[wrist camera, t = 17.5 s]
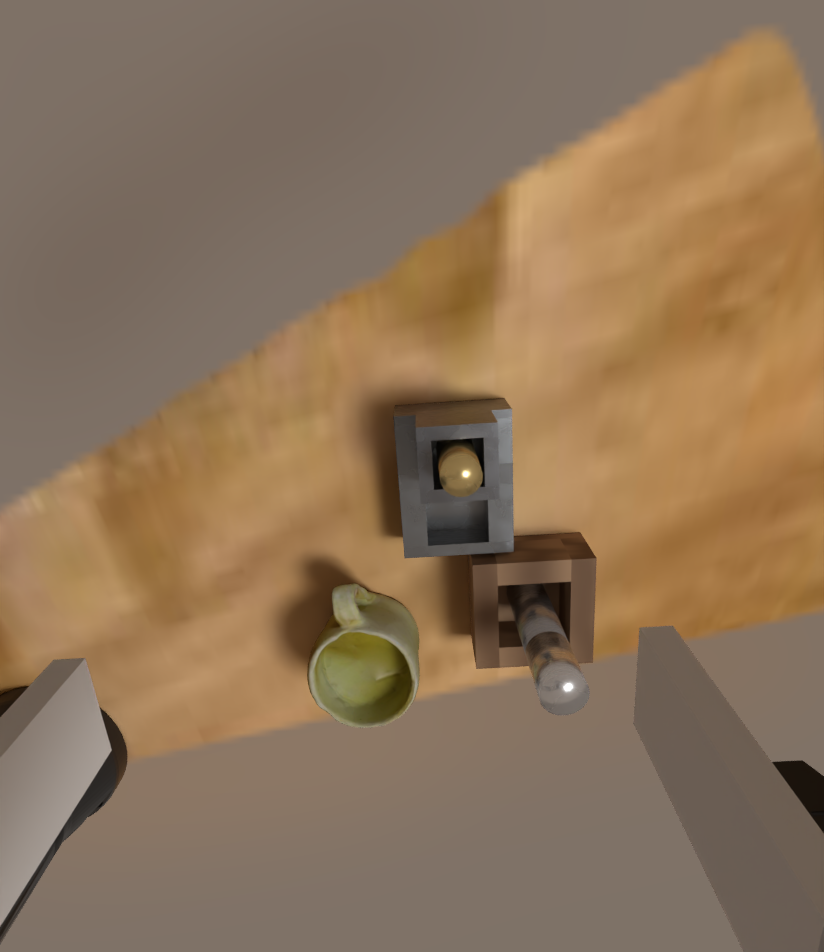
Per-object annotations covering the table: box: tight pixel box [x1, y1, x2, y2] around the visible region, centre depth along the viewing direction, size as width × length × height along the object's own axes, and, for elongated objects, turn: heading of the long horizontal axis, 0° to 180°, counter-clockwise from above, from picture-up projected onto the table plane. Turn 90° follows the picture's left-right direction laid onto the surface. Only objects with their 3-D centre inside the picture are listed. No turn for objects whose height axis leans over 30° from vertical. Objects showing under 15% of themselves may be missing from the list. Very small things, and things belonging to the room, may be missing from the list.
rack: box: [468, 533, 596, 669], centre depth 52 cm, size 10×10×5 cm
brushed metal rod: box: [506, 583, 590, 715], centre depth 47 cm, size 3×3×14 cm
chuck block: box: [394, 398, 514, 558], centre depth 47 cm, size 9×12×9 cm
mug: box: [307, 584, 420, 728], centre depth 52 cm, size 12×10×10 cm
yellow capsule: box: [436, 438, 483, 497], centre depth 42 cm, size 3×3×7 cm
